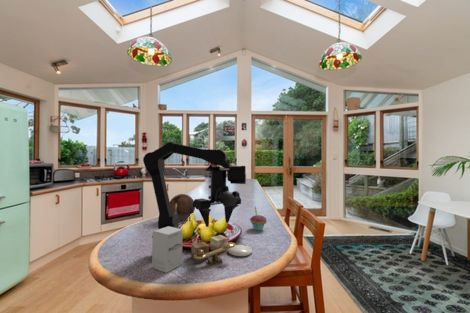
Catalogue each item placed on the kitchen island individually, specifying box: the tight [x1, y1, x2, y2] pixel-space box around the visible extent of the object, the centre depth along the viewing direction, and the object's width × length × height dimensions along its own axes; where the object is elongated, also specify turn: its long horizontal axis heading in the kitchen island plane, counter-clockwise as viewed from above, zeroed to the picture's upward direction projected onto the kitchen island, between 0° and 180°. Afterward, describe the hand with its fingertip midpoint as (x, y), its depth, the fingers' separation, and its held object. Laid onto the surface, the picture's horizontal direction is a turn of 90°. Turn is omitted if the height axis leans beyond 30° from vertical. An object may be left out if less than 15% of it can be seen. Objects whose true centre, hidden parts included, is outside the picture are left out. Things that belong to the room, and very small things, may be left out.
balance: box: [194, 241, 236, 266], centre depth 90 cm, size 16×4×6 cm, turn 118°
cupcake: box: [249, 206, 268, 231], centre depth 131 cm, size 9×8×12 cm
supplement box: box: [151, 226, 184, 273], centre depth 86 cm, size 7×7×13 cm
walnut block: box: [190, 241, 210, 262], centre depth 94 cm, size 5×5×5 cm
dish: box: [227, 244, 253, 257], centre depth 99 cm, size 10×10×1 cm
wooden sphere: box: [169, 193, 196, 221], centre depth 146 cm, size 15×15×15 cm
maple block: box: [209, 234, 229, 254], centre depth 102 cm, size 5×5×5 cm
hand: (217, 224), depth 94 cm, fingers open, 9 cm apart
